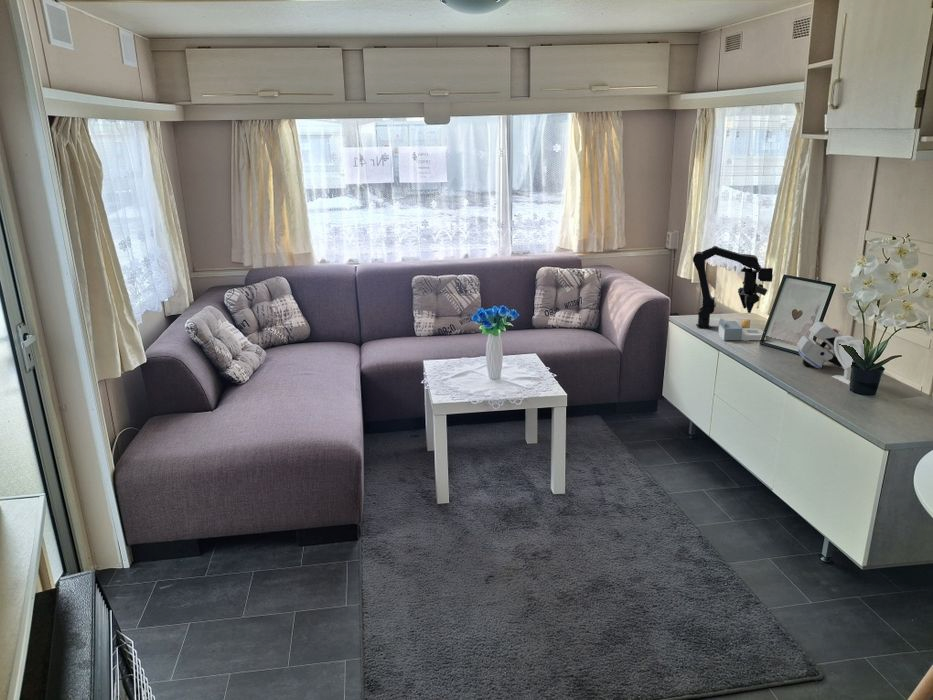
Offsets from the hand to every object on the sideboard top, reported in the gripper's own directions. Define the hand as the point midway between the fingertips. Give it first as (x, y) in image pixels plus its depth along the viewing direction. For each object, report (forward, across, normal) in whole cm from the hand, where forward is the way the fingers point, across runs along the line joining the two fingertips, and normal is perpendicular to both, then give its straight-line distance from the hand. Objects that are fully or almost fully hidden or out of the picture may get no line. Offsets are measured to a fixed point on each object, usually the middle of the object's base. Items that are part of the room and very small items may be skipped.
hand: (746, 310), depth 363 cm
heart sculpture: (+10, -75, -22) cm, 79 cm away
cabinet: (+10, -14, +11) cm, 20 cm away
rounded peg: (+10, 0, 0) cm, 10 cm away
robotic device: (+10, -57, -18) cm, 61 cm away
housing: (+10, -14, +5) cm, 18 cm away
